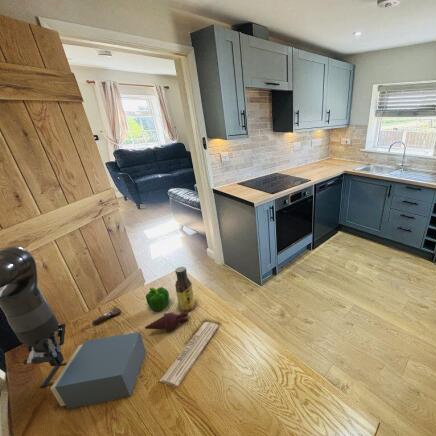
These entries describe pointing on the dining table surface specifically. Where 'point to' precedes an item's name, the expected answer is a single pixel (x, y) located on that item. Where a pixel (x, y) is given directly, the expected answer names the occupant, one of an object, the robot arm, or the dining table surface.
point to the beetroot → (168, 321)
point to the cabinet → (102, 370)
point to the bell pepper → (157, 298)
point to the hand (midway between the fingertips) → (58, 363)
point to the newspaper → (189, 355)
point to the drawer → (52, 373)
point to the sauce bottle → (184, 290)
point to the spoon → (106, 316)
